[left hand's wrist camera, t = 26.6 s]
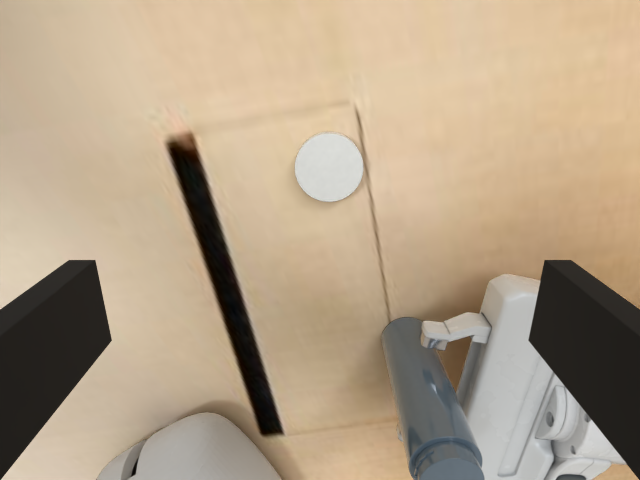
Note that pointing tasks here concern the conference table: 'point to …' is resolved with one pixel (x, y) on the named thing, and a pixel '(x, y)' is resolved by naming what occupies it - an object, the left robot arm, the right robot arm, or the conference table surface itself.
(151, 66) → the conference table surface
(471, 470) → the blue-grey bottle
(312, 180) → the lid
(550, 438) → the right robot arm
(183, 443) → the projector
